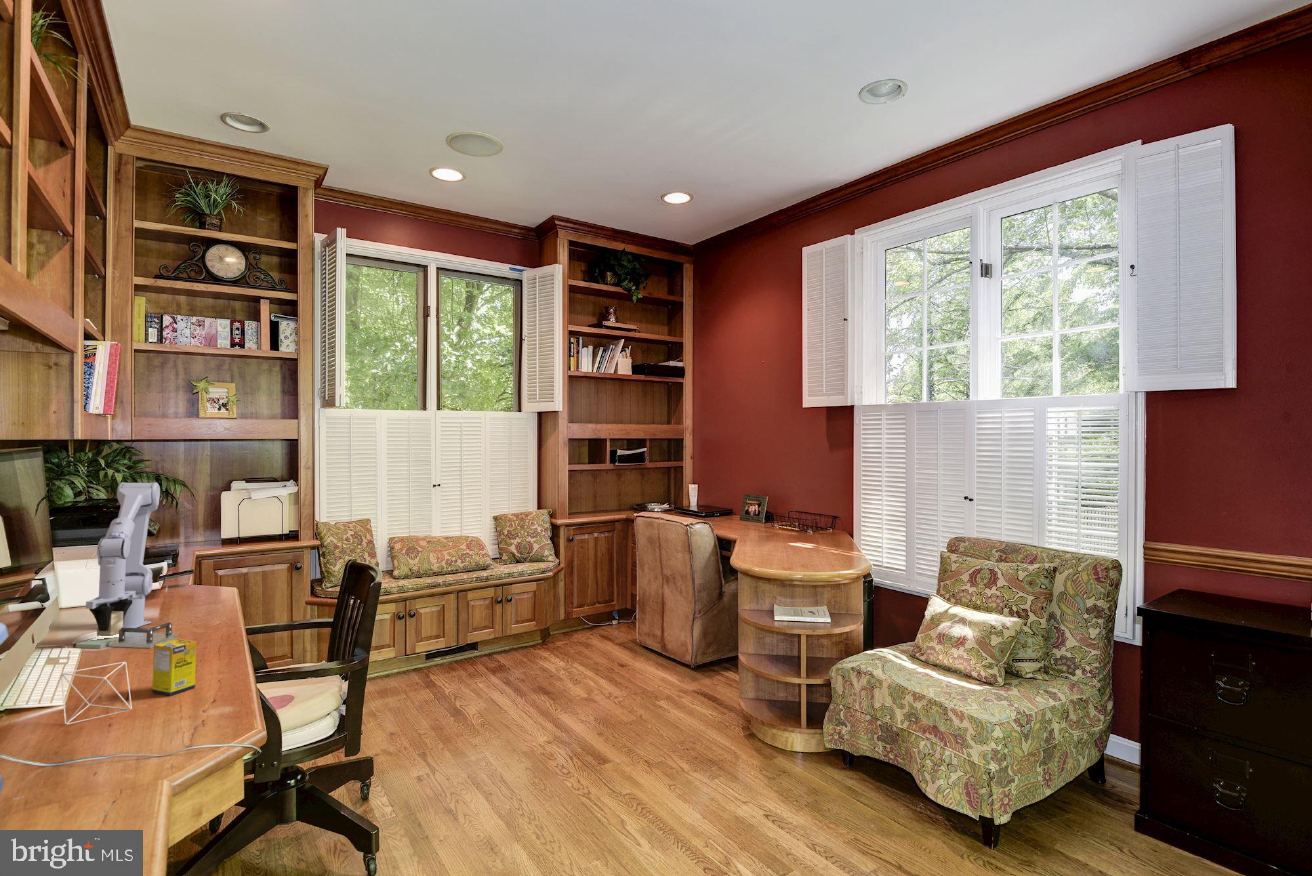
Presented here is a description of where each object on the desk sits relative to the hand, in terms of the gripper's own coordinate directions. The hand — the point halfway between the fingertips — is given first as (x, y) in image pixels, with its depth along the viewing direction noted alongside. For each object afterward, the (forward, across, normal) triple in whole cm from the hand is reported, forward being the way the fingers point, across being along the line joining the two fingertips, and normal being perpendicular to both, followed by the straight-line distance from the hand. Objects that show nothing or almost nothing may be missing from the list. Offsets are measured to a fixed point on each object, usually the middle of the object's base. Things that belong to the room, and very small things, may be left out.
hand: (110, 628), depth 191 cm
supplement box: (+4, -34, -45) cm, 57 cm away
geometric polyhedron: (+4, -48, -39) cm, 62 cm away
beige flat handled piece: (+3, +1, -10) cm, 11 cm away
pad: (+3, 0, 0) cm, 3 cm away
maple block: (+2, 0, 0) cm, 2 cm away
